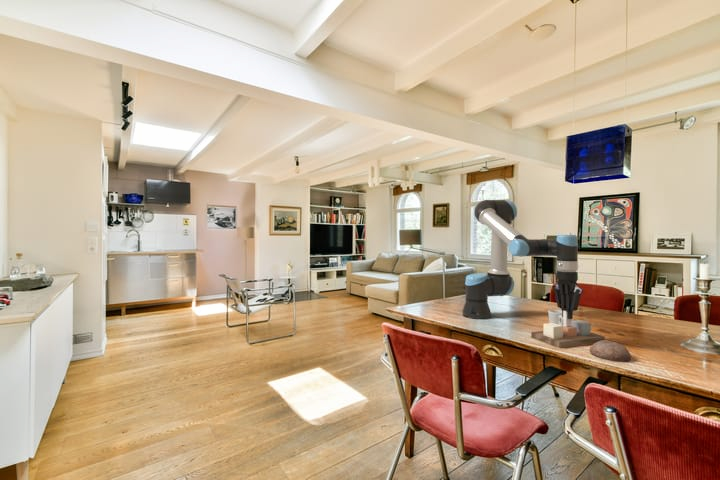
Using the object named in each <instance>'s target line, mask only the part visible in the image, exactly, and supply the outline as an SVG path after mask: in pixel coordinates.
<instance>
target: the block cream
mask: <svg viewBox="0 0 720 480" xmlns="http://www.w3.org/2000/svg"><path fill="white" fill-rule="evenodd" d="M542 331H543V335H545V336H548V337H550V338H553V339H555V338H563V326H561V325H558V324H555V323H549V322H547V323H543V330H542Z"/></svg>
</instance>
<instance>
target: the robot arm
mask: <svg viewBox="0 0 720 480" xmlns="http://www.w3.org/2000/svg"><path fill="white" fill-rule="evenodd" d="M473 210H474V211H473V212H474V213H473V215H474V218H476V220H477V222H479V223H480V224H481V225H484V226H486V227H487V228H488V229H489V230H491V244H490V245H491V247H490V269H489V270H488V271H487V273H483V272H479V273H478V272H477V273H476V272H475V273H471V274H467V275H466V276H465V282H464V284H465V287H464V288H465V302H464V305H463V308H462V312H461V313H462V314H463V315H465V316H468V317H472V318H471V319H474V318H487V319H490V318H491V317H492V312H491V309H490V305H489V303H488V297H504V296H509V295H510V294H511V293H512V292H513V291H514V289H515V288H514V287H515V280H514V278H513V276H511V275H510V274H511V273H510V271H508V252H510V254H511V255H512V256H514V257H522V258H523V257H544V256H545V257H549V256H550V257H556V270H557V271H556V279H557V283H556V284H554V285H552V289H553V292H554V295H555V301H556V305H557V308H558V309H560V310H562V317H563V326H566V327H568V326H571V321H572V320H573V316H574V315H573V312H575V311H578V308H579V304H580V300H581V296H582V294H583V293H584V289H583V288H580V287H579V285H578V279H579V274H578V270H579V262H578V256H579V255H578V253H579V252H578V251H579V250H578V249H579V243H578V235H576V234H558V235H557V236H556V239H553V238H552V239H550V238H549V239H548V238H541V239H539V238H537V239H532V238H531V239H529V238H527V237H525V235H523V234H522V233H520V231H518V230H517V229H516V228H515V227H513V226H512V224H513V221H514V220H516V217H517V214H518V210H517V206H516V205H515V203H514V202H513V201H510V200H505V199H484V200H481V201H480V202H477V205H476V206H475V207H474V209H473ZM508 250H509V251H508ZM463 315H462V316H463ZM465 316H464V317H465ZM468 317H467V318H468Z"/></svg>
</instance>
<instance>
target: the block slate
mask: <svg viewBox="0 0 720 480" xmlns="http://www.w3.org/2000/svg"><path fill="white" fill-rule="evenodd" d="M591 324H592V323H591V322H588V321H584V320H582V319H579V320H578V319H577V320H571V326H574V327H577V334H579V335H589V334H591V333H592V331H591V326H592V325H591Z"/></svg>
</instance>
